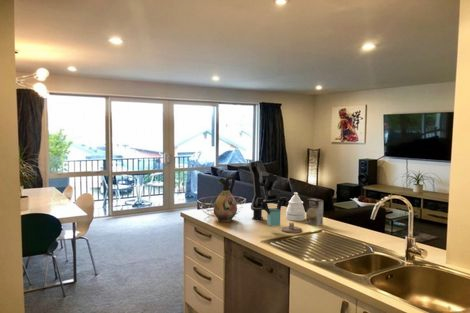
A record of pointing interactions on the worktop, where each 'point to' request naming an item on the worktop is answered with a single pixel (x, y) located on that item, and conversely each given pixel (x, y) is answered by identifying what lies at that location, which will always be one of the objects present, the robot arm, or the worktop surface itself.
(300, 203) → the honey pot
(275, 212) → the teal upright block
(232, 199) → the ceramic jug
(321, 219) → the coffee box
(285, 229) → the post stand
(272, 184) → the robot arm
